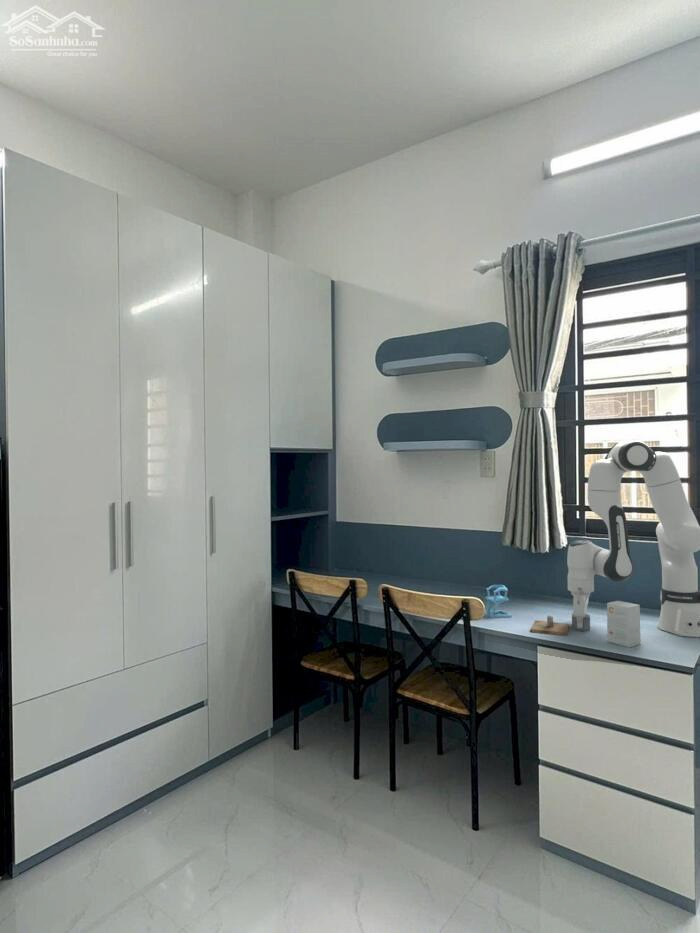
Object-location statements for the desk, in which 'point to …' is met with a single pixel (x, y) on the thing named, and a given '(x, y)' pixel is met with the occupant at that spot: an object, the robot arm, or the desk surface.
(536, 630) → the wooden peg board
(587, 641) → the desk surface
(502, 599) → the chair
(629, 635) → the small box
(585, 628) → the knob
